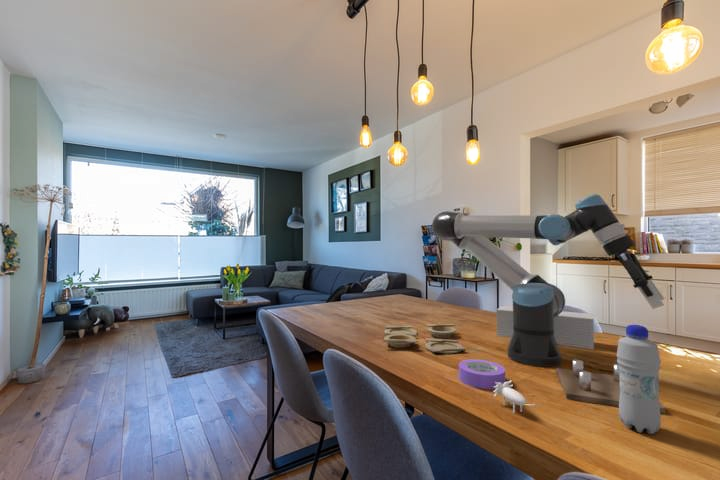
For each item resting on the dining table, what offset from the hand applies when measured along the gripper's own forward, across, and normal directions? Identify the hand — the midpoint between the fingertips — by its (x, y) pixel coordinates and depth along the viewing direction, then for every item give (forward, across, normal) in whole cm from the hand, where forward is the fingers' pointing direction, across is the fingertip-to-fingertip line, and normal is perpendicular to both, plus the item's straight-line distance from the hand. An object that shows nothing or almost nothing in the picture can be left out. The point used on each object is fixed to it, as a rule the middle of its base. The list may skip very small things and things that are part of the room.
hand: (659, 303), depth 97 cm
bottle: (+15, -45, +11) cm, 49 cm away
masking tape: (0, -42, +40) cm, 58 cm away
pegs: (+11, -28, +17) cm, 35 cm away
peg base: (+12, -28, +18) cm, 35 cm away
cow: (+6, -54, +29) cm, 61 cm away
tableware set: (-15, -20, +69) cm, 74 cm away
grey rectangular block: (+1, +14, +39) cm, 42 cm away
